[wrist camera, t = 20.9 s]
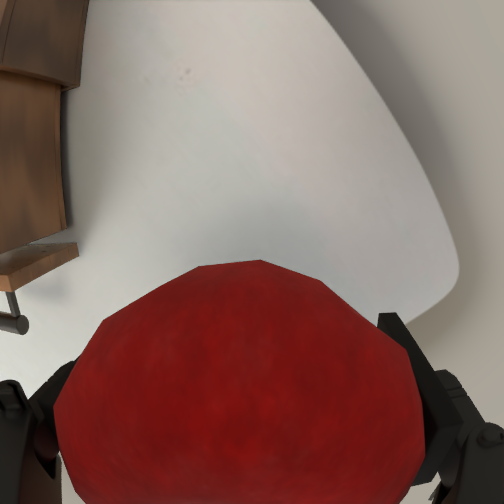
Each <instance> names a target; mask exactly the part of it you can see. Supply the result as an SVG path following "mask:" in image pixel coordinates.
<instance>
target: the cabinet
mask: <svg viewBox="0 0 504 504" xmlns="http://www.w3.org/2000/svg"><path fill="white" fill-rule="evenodd" d="M88 3H89V0H0V70H3V71H8V72H12V73H17V74H21V75H25V76H30V77H34V78H38V79H42V80H45V81H49V82H53V83H57V84H60V85H61V92H64V91H67V90H70V89H72V88H76V87H79V86H80V74H81V60H82V49H83V39H84V31H85V23H86V16H87V10H88Z"/></svg>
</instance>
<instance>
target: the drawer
mask: <svg viewBox="0 0 504 504" xmlns="http://www.w3.org/2000/svg"><path fill="white" fill-rule="evenodd" d="M60 93H61V85H60V84H57V83H53V82H49V81H45V80H42V79H38V78H34V77H30V76H25V75H21V74H17V73H12V72H8V71H3V70H0V291H5V292H6V296H7V300H8V303H9V307H10V310H11V313H7V312H2V311H0V330H3V331H7V332H11V333H15V334H20V335H24V334H26V333H27V332H28V329H29V321H28V319H27V318H26V317H25V316H24V315H20V314H21V313H20V310H19V307H18V303H17V299H16V296H15V292H14V291H15V290H17V289H18V288H20V287H22V286H24V285H25V284H27V283H29V282H31V281H33V280H34V279H36V278H38V277H40V276H42V275H44V274H46V273H47V272H49V271H51V270H53V269H55V268H57V267H59V266H61V265H62V264H64V263H66V262H68V261H70V260H72V259H74V258H76V257H78V256H79V252H78V246H77V243H59V244H36V245H25V244H28V243H30V242H33V241H36V240H38V239H41V238H43V237H46V236H49V235H51V234H54V233H57V232H60V231H62V230H65V229H67V226H66V219H65V210H64V201H63V190H62V177H61V160H60Z"/></svg>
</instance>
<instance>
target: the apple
mask: <svg viewBox="0 0 504 504" xmlns="http://www.w3.org/2000/svg"><path fill="white" fill-rule="evenodd" d="M53 409H54V418H55V426H56V433H57V440H58V446H59V450H60V453H61V455H62V458H63V461H64V464H65V467H66V469H67V472H68V475H69V477H70V480H71V482H72V485H73V487H74V490H75V492H76V493H77V494H78V495H79V497H80V498H81V499H82V500H83V501H84V502H85V503H86V504H399V503H400V502H401V501H402V500H403V498H404V497H405V496H406V494H407V493H408V491H409V489H410V487H411V485H412V483H413V481H414V479H415V477H416V475H417V473H418V471H419V469H420V467H421V465H422V463H423V460H424V458H425V437H424V421H423V408H422V401H421V397H420V394H419V390H418V387H417V383H416V380H415V376H414V373H413V370H412V367H411V363H410V360H409V357H408V354H407V351H406V349H405V348H403V347H402V346H401V345H399V344H398V343H397V342H395V341H394V340H393V339H392V338H390V337H389V336H388V335H386V334H385V333H384V332H382V331H381V330H380V329H378V328H377V327H376V326H375V325H373V324H372V323H371V322H369V321H368V320H367V319H365V318H364V317H363V316H361V315H360V314H359V313H358V312H357V311H356V310H354V309H353V308H352V307H351V306H350V305H349V304H347V303H346V302H345V301H344V300H343V299H342V298H340V297H339V296H338V295H337V294H336V293H334V292H333V291H332V290H331V289H330V288H329V287H327V286H326V285H325V284H324V283H323V282H321V281H320V280H318V279H315V278H312V277H309V276H306V275H303V274H300V273H297V272H294V271H292V270H289V269H286V268H283V267H280V266H277V265H274V264H272V263H269V262H266V261H263V260H253V261H243V262H234V263H225V264H216V265H206V266H198V267H196V268H194V269H192V270H191V271H189V272H187V273H185V274H183V275H181V276H179V277H177V278H175V279H173V280H171V281H169V282H167V283H165V284H163V285H161V286H159V287H158V288H156V289H154V290H153V291H151V292H149V293H148V294H146V295H144V296H143V297H141V298H139V299H137V300H136V301H134V302H132V303H131V304H129V305H127V306H126V307H124V308H122V309H121V310H119V311H117V312H116V313H114V314H112V315H111V316H109V317H107V318H106V319H104V320H103V321H102V322H101V324H100V326H99V327H98V329H97V330H96V332H95V333H94V335H93V336H92V338H91V340H90V341H89V343H88V344H87V346H86V347H85V349H84V351H83V352H82V354H81V356H80V357H79V359H78V360H77V362H76V364H75V366H74V368H73V369H72V371H71V373H70V375H69V377H68V379H67V381H66V383H65V385H64V386H63V388H62V390H61V392H60V394H59V396H58V398H57V400H56V402H55V404H54V406H53Z"/></svg>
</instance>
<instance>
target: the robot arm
mask: <svg viewBox="0 0 504 504" xmlns="http://www.w3.org/2000/svg"><path fill="white" fill-rule="evenodd" d="M377 328H378V329H380V330H381V331H382V332H384V333H385V334H386V335H388V336H389V337H390V338H392V339H393V340H394V341H395V342H397V343H398V344H399V345H401V346H402V347H403V348H405V349H406V351H407V354H408V357H409V360H410V363H411V367H412V370H413V373H414V376H415V380H416V383H417V387H418V390H419V394H420V397H421V401H422V408H423V421H424V437H425V458H424V460H423V463H422V465H421V467H420V469H419V471H418V473H417V475H416V477H415V479H414V481H413V483H412V485H411V486H415V485H420V484H424V483H429V482H431V481H432V479H433V478H434V476H435V475H436V473H437V472H438V473H439V475H440V478H441V481H440V483H439V484H438V486H437V487H436V489H435V490H434V492H433V493H432V494H431V496H430V498H429V500H432V499H433V498H434V499H433V501H432V504H504V429H503V428H501V427H500V426H498V425H496V424H493V423H490V422H489V423H487V422H486V423H485V421H484V420H483V418H482V416H481V415H480V413H479V411H478V410H477V408H476V407H475V405H474V404H473V402H472V401H471V399H470V397H469V396H467V393H466V391H465V390H464V388H462V385H461V384H460V382H459V381H458V379H457V378H456V377H455V376H454V375H452V374H451V373H450V372H448V371H447V370H438V371H434V370H433V368H432V367H431V365H430V363H429V362H428V360H427V359H426V357H425V355H424V354H423V353H422V351H421V349H420V348H419V346H418V345H417V343H416V341H415V340H414V338H413V337H412V335H411V334H410V332H409V331H408V329H407V328H406V327H405V325H404V323H403V322H402V320H401V319H400V318H399V316H398V315H397V313H396V312H393V313H379V317H378V324H377ZM80 356H81V355H80ZM80 356H79V357H80ZM79 357H78V358H77V359H76V360H75V361H70V362H69V363H67V364H65V365H63V366H61V367H60V368H59V369H58V370H57V371H56V372H55V373H54V375H53V376H51V377H50V378H49V379H48V381H47V382H45V383H44V384H43V385H42V386H41V387H40V388H39V389H38V390H37V391H36V392H35V393H34V394H33V395H32V396H31V397H30V398H29V399H27V397H26V395H25V393H24V391H23V389H22V387H21V385H20V383H19V382H17V381H15V380H4V381H1V382H0V504H62V494H61V493H62V492H61V464H62V462H61V458H60V456H59V455H58V453H59V451H60V450H59V446H58V440H57V433H56V426H55V418H54V409H53V406H54V404H55V402H56V400H57V398H58V396H59V394H60V392H61V390H62V388H63V386H64V385H65V383H66V381H67V379H68V377H69V375H70V373H71V371H72V369H73V368H74V366H75V364H76V362H77V360H78V359H79Z"/></svg>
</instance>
